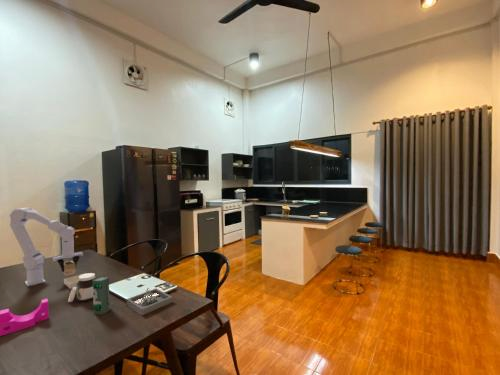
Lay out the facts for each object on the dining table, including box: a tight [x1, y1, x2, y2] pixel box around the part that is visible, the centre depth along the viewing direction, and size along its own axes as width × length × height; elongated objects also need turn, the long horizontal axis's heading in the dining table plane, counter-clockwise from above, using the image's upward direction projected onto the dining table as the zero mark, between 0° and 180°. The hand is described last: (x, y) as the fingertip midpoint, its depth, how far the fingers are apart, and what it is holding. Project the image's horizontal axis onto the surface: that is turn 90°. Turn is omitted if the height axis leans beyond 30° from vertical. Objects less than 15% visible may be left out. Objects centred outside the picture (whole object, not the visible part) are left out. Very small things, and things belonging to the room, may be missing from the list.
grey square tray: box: [126, 287, 173, 317], centre depth 120 cm, size 15×15×3 cm
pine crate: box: [61, 260, 77, 276], centre depth 150 cm, size 7×5×6 cm
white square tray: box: [63, 272, 87, 290], centre depth 145 cm, size 11×11×3 cm
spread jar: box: [67, 272, 96, 303], centre depth 125 cm, size 12×11×12 cm
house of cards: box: [141, 287, 157, 305], centre depth 118 cm, size 9×9×8 cm
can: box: [92, 275, 111, 316], centre depth 114 cm, size 6×6×15 cm
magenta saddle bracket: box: [0, 298, 50, 337], centre depth 104 cm, size 15×6×8 cm, turn 133°
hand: (68, 270), depth 150 cm, fingers closed on pine crate, 5 cm apart
